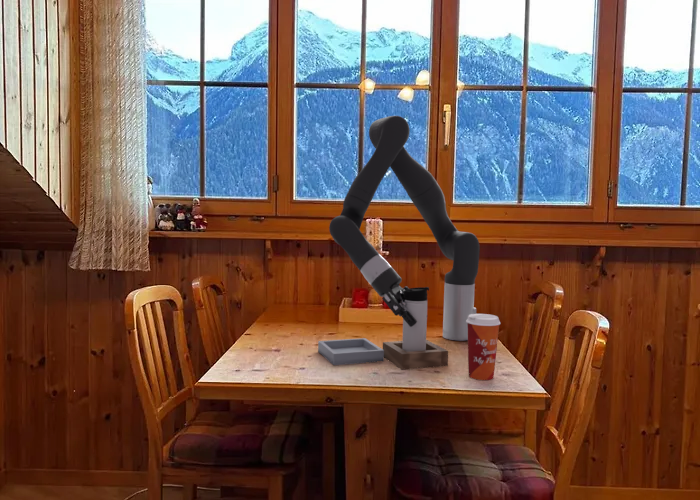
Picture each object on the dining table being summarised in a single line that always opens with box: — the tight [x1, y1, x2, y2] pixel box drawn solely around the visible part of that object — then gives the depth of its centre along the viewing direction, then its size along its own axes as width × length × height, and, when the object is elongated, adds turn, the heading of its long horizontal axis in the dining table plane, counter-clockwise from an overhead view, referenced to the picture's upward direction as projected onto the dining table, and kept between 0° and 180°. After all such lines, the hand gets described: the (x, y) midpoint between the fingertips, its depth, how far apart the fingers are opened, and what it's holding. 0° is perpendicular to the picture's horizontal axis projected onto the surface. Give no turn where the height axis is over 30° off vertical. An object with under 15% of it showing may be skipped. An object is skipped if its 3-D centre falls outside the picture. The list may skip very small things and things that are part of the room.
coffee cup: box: [466, 313, 501, 381], centre depth 146 cm, size 8×8×15 cm
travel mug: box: [401, 286, 430, 352], centre depth 158 cm, size 6×7×20 cm
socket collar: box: [382, 339, 449, 371], centre depth 159 cm, size 13×13×4 cm
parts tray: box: [317, 337, 385, 366], centre depth 162 cm, size 14×14×3 cm
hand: (419, 321), depth 158 cm, fingers open, 8 cm apart
